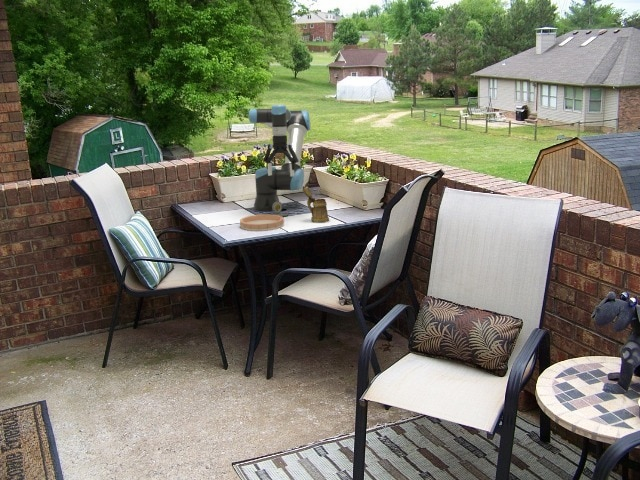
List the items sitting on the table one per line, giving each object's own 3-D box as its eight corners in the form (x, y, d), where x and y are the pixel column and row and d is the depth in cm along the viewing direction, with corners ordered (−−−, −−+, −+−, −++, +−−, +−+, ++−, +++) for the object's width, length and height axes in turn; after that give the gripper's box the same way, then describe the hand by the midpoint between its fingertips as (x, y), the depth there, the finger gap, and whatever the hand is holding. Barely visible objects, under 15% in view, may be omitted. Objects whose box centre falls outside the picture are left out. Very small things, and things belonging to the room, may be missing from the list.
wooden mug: (306, 218, 369) (305, 184, 364) (331, 219, 364) (330, 185, 360) (301, 222, 361) (299, 187, 356) (325, 223, 356) (324, 188, 352)
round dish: (231, 227, 354) (230, 221, 353) (260, 218, 371) (259, 212, 370) (264, 232, 341) (263, 226, 340) (292, 223, 358) (292, 217, 357)
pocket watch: (286, 217, 372) (285, 198, 369) (271, 217, 373) (270, 198, 371) (290, 213, 380) (289, 195, 377) (275, 213, 381) (274, 195, 379)
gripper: (255, 135, 366) (257, 175, 370) (297, 135, 355) (298, 177, 359) (263, 134, 372) (264, 174, 377) (304, 134, 361) (305, 175, 365)
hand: (281, 175), depth 368 cm, fingers open, 13 cm apart
